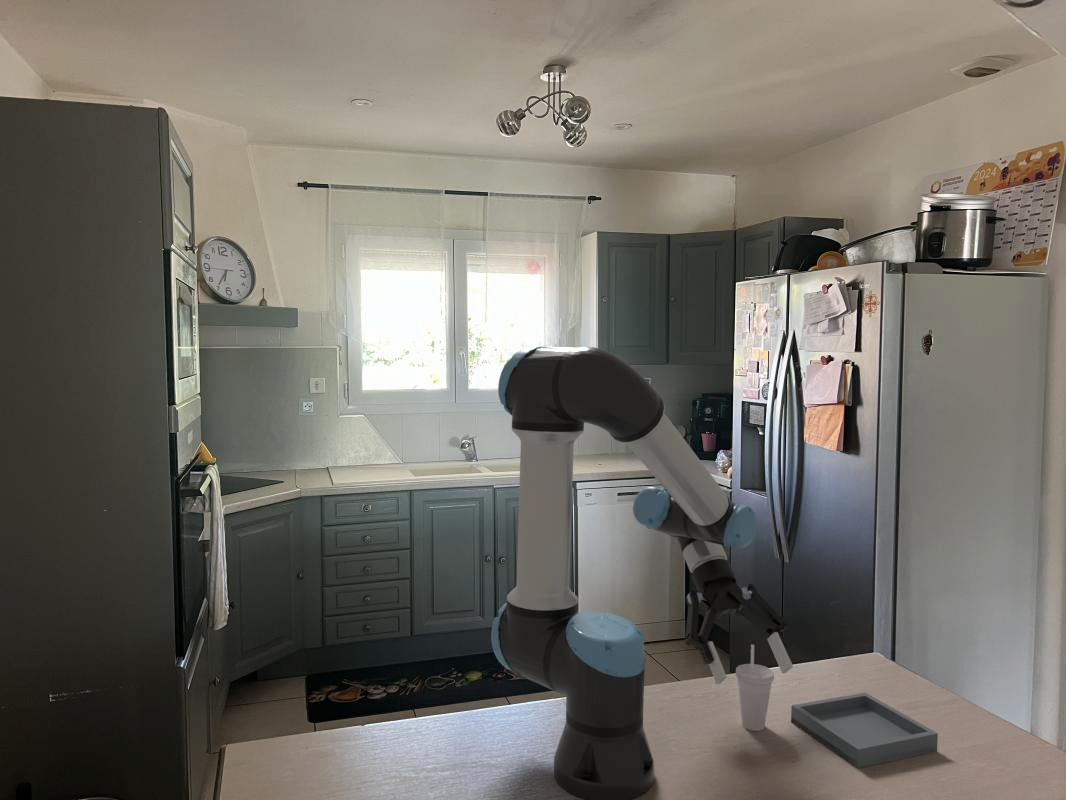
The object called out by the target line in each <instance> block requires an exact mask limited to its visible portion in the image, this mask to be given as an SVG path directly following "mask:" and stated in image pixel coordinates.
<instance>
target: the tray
mask: <svg viewBox="0 0 1066 800" xmlns="http://www.w3.org/2000/svg"><path fill="white" fill-rule="evenodd" d="M790 712H791V713H790V723H791V724H793V723H794V724H795V725H794V724H793V725H794V726H796V725H797V726H798V728H799V729H800V728H801V729H800V730H802V731H803V730H804V731H803V732H805V733H806V734H807V733H808V734H807V735H809V736H810V735H811V736H810V737H812V738H813V739H815V740H816V741H818V743H820V744H822V745H823V746H824V747H826V748H827V749H829V750H830V751H832V752H834V753H835V754H836V755H838V756H839V757H841V758H842V759H843V760H845V761H846V762H848V763H849V764H850V765H851V766H853V767H855V768H856V769H861V768H864V767H869V766H874V765H880V764H884V762H885V763H890V762H894V761H898V760H897V759H899V760H903V758H904V759H908V758H912V757H911V756H913V757H918V756H922V755H921V754H923V755H926V754H925V753H927V754H931V753H936V752H935V751H937V752H938V740H939V738H938V737H939V733H938V732H936V731H934V730H933V729H931V728H930V727H927V726H925V725H924V724H922V723H920V722H918V721H916V720H915V719H913V718H911V717H909V716H908V715H907V714H905V713H903V712H901V711H899V710H897V709H895V708H894V707H892V706H890V705H888V704H886V703H885V702H884V701H881V700H879V699H878V698H876V697H874V696H872V695H871V694H868V693H867V692H862V693H856V694H855V693H854V694H849V695H844V696H839V697H832V698H827V699H826V698H825V699H820V700H814V701H810V702H809V701H808V702H803V703H797V704H792V705H791V709H790ZM797 726H796V727H797ZM930 752H931V753H930ZM917 755H918V756H917ZM907 757H908V758H907ZM893 760H894V761H893Z"/></svg>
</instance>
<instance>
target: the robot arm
mask: <svg viewBox="0 0 1066 800" xmlns="http://www.w3.org/2000/svg"><path fill="white" fill-rule="evenodd" d="M497 391H498V398H499V401H500V404H501V405H503V409H504V410H505V411H506V412H507V413H508V414H509V415H511V431H512V432H513V433H514V434H515V435H516V436H517V438H519V441H520V455H519V456H520V458H519V459H520V461H519V485H518V486H519V488H518V491H519V494H518V496H519V497H518V522H517V523H518V524H517V525H518V526H517V527H518V528H517V530H518V531H517V560H516V561H517V563H516V585H515V587H514V588H513V589H512V590H511V591H510V592H509V593H508V594H507V597H506V602H505V603H504V604H503V605H502V606H501V607H500V608H499V609H498V610H497V613H498V616H497V617H494V619H493V622H492V626H491V631H490V632H491V634H490V635H491V636H490V638H491V646H492V650H493V653H494V655H495V657H496V659H497V660H498V663H500V664H501V665H502V666H503V667H504V668H505V669H507V670H509V672H512V673H513V674H515V675H516V676H518V677H520V678H521V679H525V680H529V681H532V682H534V683H536V684H539V685H541V686H543V687H545V688H547V689H549V690H551V691H554V692H557V693H559V694H561V695H563V696H565V699H566V700H565V701H566V702H565V724H564V728H563V730H562V734H561V736H560V739H559V742H558V744H557V747H556V751H555V754H554V757H553V758H554V759H553V776H554V778H555V781H556V782H557V784H558V785H559V786H560V787H561V788H563V789H564V790H565V791H567V792H568V793H570V794H571V795H574V796H577V797H580V798H582V799H586V800H631V799H634V798H637V797H639V796H642V795H643V794H645V793H646V792H647V791H649V790H650V788H651V787H652V786H653V784H654V780H655V763H654V757H653V755H652V752H651V748H650V744H649V740H648V739H647V738H648V737H647V734H646V731H645V728H644V701H645V700H644V697H645V667H646V662H647V661H646V654H645V641H644V637H643V633H642V632H641V630H640V629H639V628H638V626H636V625H635V624H634V623H633V622H632V621H630V620H629V619H626V617H622V616H619V615H617V614H614V613H610V612H606V613H603V612H601V611H592V610H591V611H584V612H583V611H582V612H579V597H578V595H576V594H575V593H574V592H573V591H572V590H571V588H570V575H571V573H570V571H571V570H570V569H571V541H572V540H571V537H572V512H573V511H572V508H573V479H574V478H573V477H574V475H573V474H574V452H575V450H574V445H575V442H576V440H577V439H578V438H579V437H580V436H582V434H583V433H584V432H585V431H584V429H585V428H584V427H585V424H589V425H592V426H596V427H599V428H601V429H603V430H605V431H606V432H608V434H609V435H610V436H611V437H612V438H613V440H615V441H616V442H618V443H621V444H626V445H627V446H628V447H629V448H630V449H631V451H632V452H633V453H634V454H635V456H636V457H637V458H638V459H639V460H640V461H641V463H642V464H643V465H644V466H645V467H646V468H647V469H648V471H649V473H651V475H652V476H653V477H654V478H655V479H656V480H657V482H658V483H659V484H660V485H661V486H662V488H659V487H656V486H647V487H645V488H642V489H641V490H640V491H639V492H638V493H637V494H636V496H635V498H634V500H633V506H632V512H633V513H632V514H633V515H634V517H635V520H636V521H637V522H638V523H639V524H641V525H643V526H644V527H646V529H648V530H650V529H651V530H653V531H657V532H660V533H662V534H665V535H668V536H669V537H673V538H675V539H676V541H677V543H678V546H679V548H680V550H681V552H682V555H683V558H684V560H685V563H686V565H687V567H688V570H689V572H690V573H691V578H692V580H693V582H694V583H693V584H695V588H696V590H697V591H696V590H694V589H692V590H690V592H689V593H688V594H687V595H686V596H685V601H686V602H685V603H686V605H687V618H686V630H685V631H686V632H685V644H686V645H687V646H690V647H691V646H693V648H694V649H696V650H697V651H698V650H699V653H700V656H701V658H702V661H703V663H704V664H705V665H708V666H709V668H710V671H711V673H712V676H713V679H714V681H715V685H720V684H722V683H723V682H724V681H725V680H726V679H727V674H726V671H725V669H724V667H723V664H722V662H721V659H720V656H719V654H718V651H717V650H716V647H715V644H714V642H713V640H712V641H711V640H710V641H708V639H709V637H710V634H711V631H712V628H713V625H714V622H715V619H716V617H717V616H716V615H718V616H723V615H726V614H727V615H732V614H734V613H735V614H737V615H738V616H741V617H743V618H745V619H746V620H747V621H749V622H750V623H752V625H754V626H756V627H757V628H758V629H760V630H761V631H762V632H764V633H765V634H766V635H767V636H769V637H768V638H767V639H766V640H767V642H768V644H769V646H770V649H771V651H772V653H773V656H774V658H775V660H776V662H777V665H778V666H779V669H780V672H781V673H782V674H786V673H788V672H789V671H790V670H791V669H793V667H794V665H793V663H792V661H791V659H790V657H789V654H788V652H787V651H788V650H789V649H788V644H787V643H786V641H785V638H784V637H783V634H782V633H783V632H784V630H786V628H788V626H789V625H788V623H787V621H785V619H784V618H783V617H782V616H781V615H780V614H779V613H778V612H777V611H776V610H775V609H774V608H773V606H771V605H770V604H769V603H768V601H766V599H764V598H763V596H761V594H759V592H758V591H757V587H755V585H754V584H752V583H749V584H747V586H745V587H744V586H743V587H740V586H739V585H738V583H737V578H736V574H735V572H734V570H733V568H732V565H731V563H730V561H729V560H728V556H727V554H726V552H725V549H724V547H732V548H740V549H742V548H746V547H748V546H749V545H750V544H751V543H752V542H753V540H754V537H755V534H757V533H756V532H757V529H758V528H757V527H758V521H757V520H758V517H757V515H756V512H755V510H754V509H753V508H752V507H750V506H749V505H746V504H743V503H741V502H738V503H734V502H733V501H732V500H731V499H730V498H729V496H728V495H727V493H725V491H724V490H723V488H721V486H720V485H719V483H718V482H717V481H716V480H715V478H714V477H713V475H712V474H711V473H710V471H709V470H708V469H707V467H706V466H705V465H704V464H703V462H702V461H701V459H699V457H698V455H696V453H695V452H694V450H693V449H692V448H691V446H690V445H689V443H688V442H687V441H686V440H685V439H684V437H683V436H682V435H681V433H680V432H679V430H678V429H677V428H676V427H675V426H674V424H673V422H672V421H671V420H670V419H669V418H668V415H666V414H665V410H666V408H665V403H664V402H665V401H663V399H662V397H661V396H660V394H659V393H658V392H657V391H656V390H655V389H654V387H653V385H651V384H650V383H649V382H648V381H647V379H646V378H645V377H643V375H641V373H639V371H637V370H636V369H635V368H634V367H633V366H631V365H630V364H629V363H628V362H626V361H625V360H624V359H623V358H620V357H619V356H617V355H615V354H613V353H611V352H610V351H607V350H606V349H601V348H598V347H594V346H582V347H581V346H580V347H579V346H578V347H574V346H570V347H569V346H566V347H565V346H546V345H542V346H535V347H526V348H523V349H521V350H519V351H517V352H515V353H514V354H513V355H512V356H511V357H510V359H508V360H507V362H506V363H505V364H504V366H503V368H502V369H501V373H500V376H499V379H498V386H497ZM723 546H724V547H723ZM701 603H703V605H705V606H706V611H705V614H704V618H703V622H702V624H701V627H700V630H698V629H699V618H700V617H699V615H700V604H701ZM698 631H699V632H698ZM696 650H695V651H696Z"/></svg>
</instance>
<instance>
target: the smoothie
mask: <svg viewBox="0 0 1066 800" xmlns="http://www.w3.org/2000/svg"><path fill="white" fill-rule="evenodd" d="M774 673H775V672H774V671H773V670H772V669H771V668H769V667H767V666H765V665H761V664H756V663H755V644H750V663H744V664H739V665H738V666H737V667H736V668H735V677H736V678H737V687H738V694H739V695H738V696H739V697H738V698H739V705H740V714H741V715H740V716H741V725H742V727H743V728H744V729H746V730H749V731H752V730H753V731H755V732H758V731H759V732H760V731H763V730H764V729H765V727H766V720H767V712H768V708H769V702H770V695H771V688H772V683H773V682H774V680H775V674H774Z"/></svg>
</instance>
